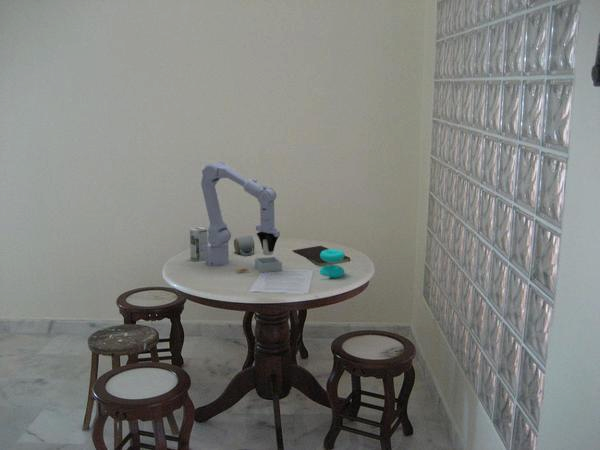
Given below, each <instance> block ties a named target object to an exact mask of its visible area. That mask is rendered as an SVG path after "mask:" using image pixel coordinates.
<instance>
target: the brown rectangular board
mask: <svg viewBox="0 0 600 450" xmlns="http://www.w3.org/2000/svg"><path fill="white" fill-rule="evenodd" d="M234 272H235V273H236V274H237V275H238V274H239V275H240V274H249V273H251V271H250V269H249V268H238V269H234Z"/></svg>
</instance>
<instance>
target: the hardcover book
mask: <svg viewBox="0 0 600 450" xmlns="http://www.w3.org/2000/svg"><path fill="white" fill-rule="evenodd" d="M328 249H329V248H327V247H326V246H323V245H315V246H310V247H304V248H298V249H292V251H291V252H293V253H295V254H298V255H300V256H302V257H304V258H306V259H307V260H308V262H309V261H310V263H311V264H314V265H316V266H318V267H324V266H327V265H336V264H339V263H346V262H350V261H351V258H350V257H349V256H347V255H345V256H344V258H343V259H342V260H341V261H338V262H327V261H324V260H322V259H321V257H320V253H321V252H322V251H324V250H328Z"/></svg>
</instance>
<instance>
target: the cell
mask: <svg viewBox="0 0 600 450" xmlns="http://www.w3.org/2000/svg"><path fill="white" fill-rule="evenodd" d="M262 251H263V252H262V254H263V255H265V256H272V255H273V254H274V251H272V252H269V251H268V243H267V240H266V239H263V249H262Z"/></svg>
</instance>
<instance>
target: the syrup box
mask: <svg viewBox="0 0 600 450" xmlns="http://www.w3.org/2000/svg"><path fill="white" fill-rule="evenodd" d="M189 242H190V244H189V245H190V246H189V247H190V261H193V262H195V261H196V263H197V262H205V261H206V247H208V243H209V242H208V228H205V227H201V226H195V227H194V226H193V227H191V228H189Z"/></svg>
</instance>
